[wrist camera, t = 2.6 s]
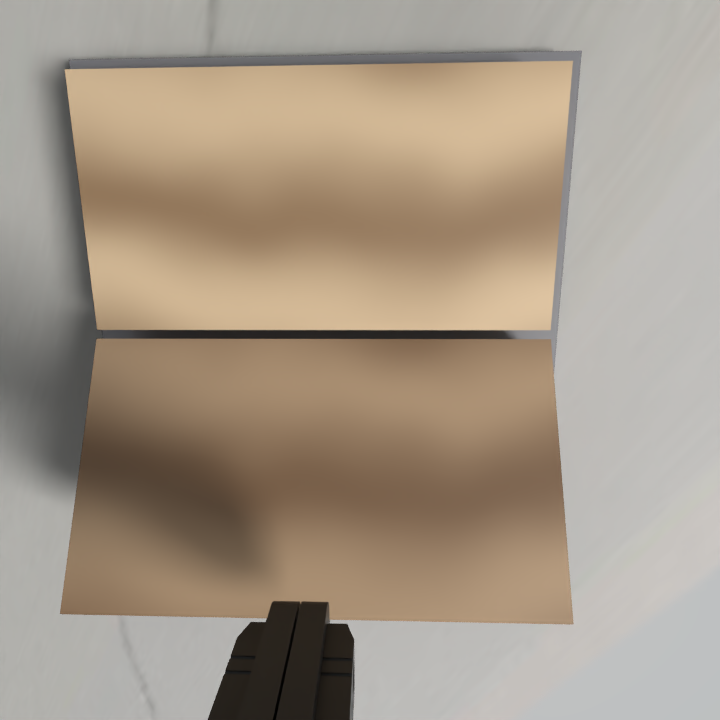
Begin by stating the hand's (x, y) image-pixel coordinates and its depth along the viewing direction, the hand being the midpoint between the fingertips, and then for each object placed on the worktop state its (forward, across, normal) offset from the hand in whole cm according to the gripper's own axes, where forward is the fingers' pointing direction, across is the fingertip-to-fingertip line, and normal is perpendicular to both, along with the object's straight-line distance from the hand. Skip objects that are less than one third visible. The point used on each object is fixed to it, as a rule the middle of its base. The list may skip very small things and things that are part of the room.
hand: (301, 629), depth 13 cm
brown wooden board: (+6, 0, -2) cm, 6 cm away
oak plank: (+9, 0, -11) cm, 14 cm away
